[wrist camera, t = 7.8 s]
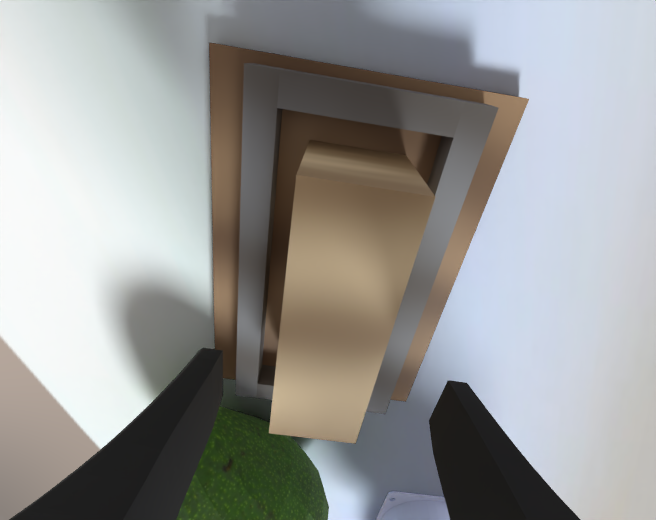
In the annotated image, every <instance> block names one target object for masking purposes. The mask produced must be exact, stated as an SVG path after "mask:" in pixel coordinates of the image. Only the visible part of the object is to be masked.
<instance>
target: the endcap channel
mask: <svg viewBox="0 0 656 520" xmlns="http://www.w3.org/2000/svg"><path fill="white" fill-rule="evenodd" d="M209 58H210V113H211V167H212V222H213V277H214V331H215V350H223V378H226V379H234V380H236V395H237V396H245V397H253V398H261V399H269V400H272V398H273V389H274V379H275V370H276V361H277V351H278V342H279V333H280V323H281V314H282V304H283V295H284V286H285V276H286V267H287V258H288V248H289V239H290V230H291V220H292V211H293V202H294V192H295V183H296V174H297V172H298V169H299V167H300V164H301V161H302V159H303V156H304V154H305V151H306V148H307V146H308V143H309V140H316V141H322V142H328V143H334V144H340V145H346V146H352V147H358V148H365V149H371V150H377V151H383V152H389V153H395V154H401V155H406V156H407V157H408V159H409V160H410V161H411V163H412V164H413V166H414V167H415V168H416V170H417V171H418V173H419V174H420V176H421V177H422V178H423V180H424V181H425V183H426V184H427V185H428V187H429V188H430V190H431V191H432V192H433V194H434V195H435V200H434V203H433V206H432V209H431V212H430V215H429V219H428V222H427V225H426V228H425V231H424V234H423V237H422V240H421V243H420V246H419V249H418V252H417V256H416V259H415V262H414V265H413V268H412V271H411V274H410V277H409V280H408V283H407V286H406V289H405V293H404V296H403V299H402V302H401V305H400V308H399V311H398V314H397V317H396V320H395V323H394V326H393V330H392V333H391V336H390V339H389V342H388V345H387V348H386V351H385V354H384V357H383V360H382V363H381V367H380V370H379V373H378V376H377V379H376V382H375V385H374V388H373V391H372V394H371V397H370V401H369V404H368V407H367V410H366V412H373V413H381V414H385V413H386V410H387V408H388V405H389V402H390V400H398V401H406V400H407V397H408V395H409V393H410V390H411V388H412V385H413V383H414V380H415V378H416V375H417V373H418V370H419V368H420V366H421V363H422V361H423V358H424V356H425V353H426V351H427V348H428V346H429V343H430V341H431V339H432V336H433V334H434V331H435V329H436V326H437V324H438V321H439V319H440V316H441V314H442V312H443V309H444V307H445V304H446V302H447V299H448V297H449V294H450V292H451V289H452V287H453V285H454V282H455V280H456V277H457V275H458V272H459V270H460V267H461V265H462V262H463V260H464V258H465V255H466V253H467V250H468V248H469V245H470V243H471V240H472V238H473V235H474V233H475V231H476V228H477V226H478V223H479V221H480V218H481V216H482V213H483V211H484V208H485V206H486V204H487V201H488V199H489V196H490V194H491V191H492V189H493V186H494V184H495V181H496V179H497V177H498V174H499V172H500V169H501V167H502V164H503V162H504V159H505V157H506V154H507V152H508V150H509V147H510V145H511V142H512V140H513V137H514V135H515V132H516V130H517V127H518V125H519V123H520V120H521V118H522V115H523V113H524V110H525V108H526V105H527V103H528V100H529V99H526V98H521V97H516V96H510V95H505V94H499V93H493V92H488V91H482V90H476V89H471V88H465V87H459V86H454V85H448V84H442V83H437V82H431V81H425V80H420V79H414V78H408V77H403V76H397V75H391V74H386V73H380V72H374V71H368V70H363V69H357V68H351V67H346V66H340V65H334V64H329V63H323V62H317V61H312V60H306V59H300V58H295V57H289V56H283V55H278V54H272V53H266V52H261V51H255V50H249V49H244V48H238V47H232V46H227V45H221V44H215V43H209Z"/></svg>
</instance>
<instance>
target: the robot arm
mask: <svg viewBox="0 0 656 520" xmlns="http://www.w3.org/2000/svg"><path fill="white" fill-rule="evenodd" d="M222 396H223V350H215V349H208V348H202V349H201V350H199V351H198V353H197V354H196V355H195V356H194V357H193V359H192V360H191V361H190V362H189V363H188V364H187V366H186V367H185V368H184V369H183V370H182V371H181V372H180V373H179V375H178V376H177V377H176V378H175V379H174V380H173V381H172V382H171V383H170V384H169V385H168V386H167V387H166V388H165V389H164V390H163V391H162V392H161V394H160V395H159V396H158V397H157V398H156V399H155V400H154V401H153V402H152V403H151V404H150V405H149V406H148V407H147V408H146V409H145V410H144V411H143V412H142V413H140V414H139V415H138V416H137V417H136V418H135V419H134V420H133V421H132V422H131V423H130V424H129V425H128V426H127V427H126V428H124V429H123V430H122V431H121V432H120V433H119V434H118V435H117V436H116V437H115V438H113V439H112V440H111V441H110V442H109V443H108V444H107V445H105V446H104V447H103V448H102V449H101V450H100V451H98V452H97V453H96V454H95V455H94V456H92V457H91V458H90V459H89V460H88V461H86V462H85V463H84V464H83V465H82V466H80V467H79V468H78V469H77V470H75V471H74V472H73V473H71V474H70V475H69V476H68V477H66V478H65V479H64V480H62V481H61V482H60V483H59V484H57V485H56V486H55V487H53V488H52V489H51V490H50V491H48V492H47V493H46V494H44V495H43V496H42V497H40V498H39V499H38V500H36V501H35V502H33V503H32V504H31V505H29V506H28V507H27V508H25V509H24V510H22V511H21V512H19V513H18V514H16V515H15V516H14V517H12V518H11V519H9V520H176V519H177V516H178V514H179V511H180V508H181V506H182V503H183V501H184V498H185V496H186V493H187V491H188V488H189V486H190V483H191V481H192V479H193V476H194V474H195V471H196V469H197V466H198V464H199V461H200V459H201V457H202V454H203V452H204V449H205V447H206V444H207V442H208V439H209V437H210V434H211V432H212V429H213V427H214V423H215V420H216V417H217V413H218V410H219V406H220V403H221V399H222ZM429 424H430V432H431V440H432V447H433V454H434V458H435V462H436V466H437V470H438V474H439V478H440V482H441V486H442V490H443V494H444V497H441V496H432V495H424V494H415V493H406V492H397V491H391V492H389V493H388V494H387V496H386V498H385V500H384V502H383V505H382V507H381V509H380V511H379V513H378V515H377V518H376V520H580V519H579V518H578V517H577V516H576V514H575V513H574V512H573V511H572V510H571V509H570V508H569V507H568V506H567V505H566V504H565V503H564V502H563V501H562V500H561V499H560V498H559V496H558V495H557V494H556V493H555V492H554V491H553V490H552V489H551V488H550V486H549V485H548V484H547V483H546V482H545V481H544V479H543V478H542V477H541V476H540V475H539V474H538V473H537V471H536V470H535V469H534V468H533V467H532V466H531V464H530V463H529V462H528V461H527V460H526V458H525V457H524V456H523V455H522V454H521V452H520V451H519V450H518V449H517V447H516V446H515V445H514V444H513V442H512V441H511V440H510V439H509V437H508V436H507V435H506V434H505V432H504V431H503V430H502V428H501V427H500V426H499V425H498V423H497V422H496V421H495V419H494V418H493V417H492V415H491V414H490V413H489V412H488V410H487V409H486V408H485V406H484V405H483V404H482V402H481V401H480V400H479V398H478V397H477V396H476V394H475V393H474V392H473V390H472V389H471V388H470V387H469V385H468V384H467V383H463V382H456V381H448V382H447V384H446V386H445V388H444V390H443V392H442V394H441V397H440V399H439V401H438V403H437V405H436V407H435V409H434V411H433V413H432V415H431V418H430V420H429ZM390 498H394V499H390Z"/></svg>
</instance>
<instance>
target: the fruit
mask: <svg viewBox="0 0 656 520" xmlns="http://www.w3.org/2000/svg"><path fill="white" fill-rule="evenodd" d="M269 426H270V423H269V422H267V421H264V420H262V419H260V418H257V417H254V416H250V415H247V414H244V413H240V412H237V411H234V410H231V409H228V408H225V407H222V406H219V410H218V413H217V417H216V420H215V423H214V427H213V429H212V432H211V434H210V437H209V439H208V442H207V444H206V447H205V449H204V452H203V454H202V457H201V459H200V461H199V464H198V466H197V469H196V471H195V474H194V476H193V479H192V481H191V483H190V486H189V488H188V491H187V493H186V496H185V498H184V501H183V503H182V506H181V508H180V511H179V514H178V516H177V519H176V520H328V509H329V506H328V502H327V499H326V495H325V492H324V488H323V485H322V481H321V478H320V475H319V472H318V470H317V468H316V467H315V466H314V464H313V463H312V461H311V460H310V459H309V457H308V456H307V454H306V453H305V452H304V451H303V450H302V449H301V447H300V446H299V445H298V444H297V443H296V442H295V441H294V439H293V438H292V437H291V436H287V435H279V434H271V433H269Z"/></svg>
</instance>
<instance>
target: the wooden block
mask: <svg viewBox="0 0 656 520" xmlns="http://www.w3.org/2000/svg"><path fill="white" fill-rule="evenodd" d="M434 200H435V195H434V194H433V192H432V191H431V190H430V188H429V187H428V185H427V184H426V183H425V181H424V180H423V178H422V177H421V176H420V174H419V173H418V171H417V170H416V168H415V167H414V166H413V164H412V163H411V161H410V160H409V159H408V157H407V156H406V155H401V154H395V153H389V152H383V151H377V150H371V149H365V148H358V147H352V146H346V145H340V144H334V143H328V142H322V141H316V140H309V143H308V146H307V148H306V151H305V154H304V156H303V159H302V161H301V164H300V167H299V169H298V172H297V174H296V183H295V192H294V202H293V211H292V220H291V230H290V239H289V248H288V258H287V267H286V276H285V286H284V295H283V304H282V314H281V323H280V333H279V342H278V351H277V361H276V370H275V379H274V389H273V398H272V407H271V417H270V426H269V433H271V434H279V435H287V436H296V437H304V438H312V439H321V440H329V441H337V442H346V443H354V444H356V441H357V438H358V434H359V431H360V428H361V425H362V422H363V419H364V416H365V413H366V410H367V407H368V404H369V401H370V397H371V394H372V391H373V388H374V385H375V382H376V379H377V376H378V373H379V370H380V367H381V363H382V360H383V357H384V354H385V351H386V348H387V345H388V342H389V339H390V336H391V333H392V330H393V326H394V323H395V320H396V317H397V314H398V311H399V308H400V305H401V302H402V299H403V296H404V293H405V289H406V286H407V283H408V280H409V277H410V274H411V271H412V268H413V265H414V262H415V259H416V256H417V252H418V249H419V246H420V243H421V240H422V237H423V234H424V231H425V228H426V225H427V222H428V219H429V215H430V212H431V209H432V206H433V203H434Z"/></svg>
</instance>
